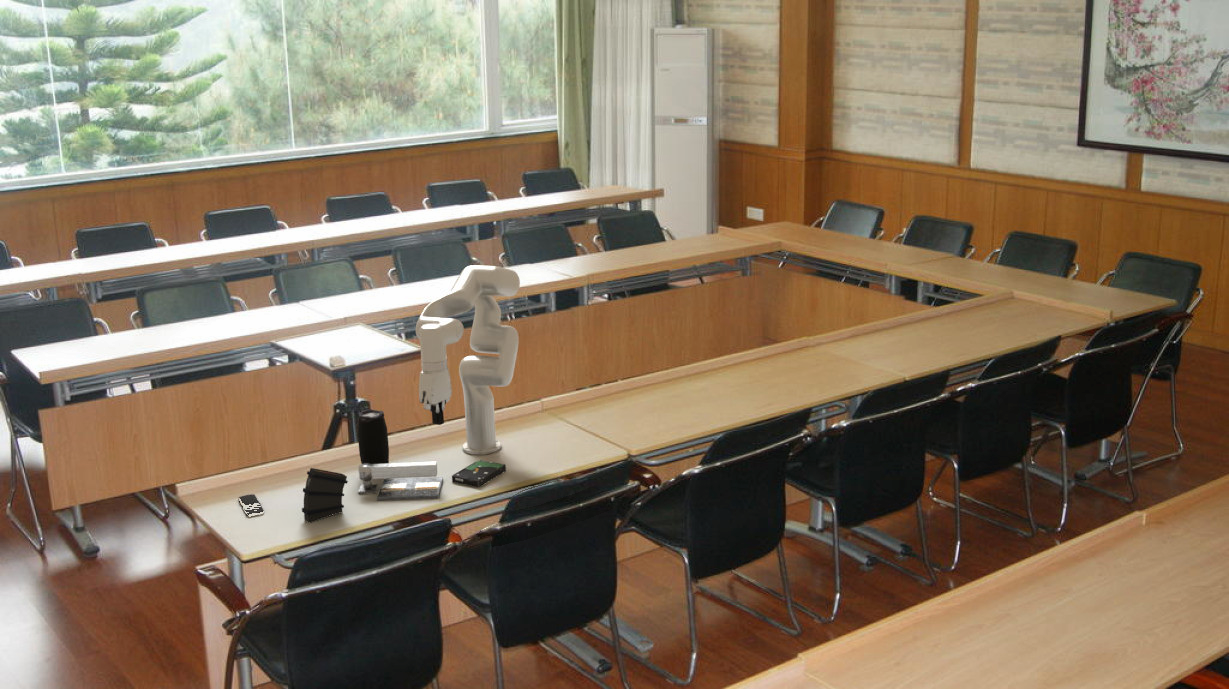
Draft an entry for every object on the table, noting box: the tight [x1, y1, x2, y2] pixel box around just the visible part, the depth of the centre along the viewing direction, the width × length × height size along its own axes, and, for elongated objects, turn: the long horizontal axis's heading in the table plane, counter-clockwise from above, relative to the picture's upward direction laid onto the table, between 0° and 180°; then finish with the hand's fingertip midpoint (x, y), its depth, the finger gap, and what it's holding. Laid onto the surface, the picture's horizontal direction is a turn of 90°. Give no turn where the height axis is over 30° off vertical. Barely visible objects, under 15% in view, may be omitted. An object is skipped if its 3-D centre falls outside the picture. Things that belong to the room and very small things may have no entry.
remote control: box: [238, 493, 265, 515], centre depth 353 cm, size 5×2×15 cm
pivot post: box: [357, 479, 379, 495], centre depth 362 cm, size 5×5×4 cm
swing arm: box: [358, 461, 438, 481], centre depth 361 cm, size 4×23×4 cm, turn 92°
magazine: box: [301, 467, 349, 523], centre depth 344 cm, size 4×13×15 cm, turn 130°
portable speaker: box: [357, 408, 390, 465], centre depth 374 cm, size 9×9×20 cm
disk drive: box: [451, 459, 507, 488], centre depth 371 cm, size 10×3×15 cm
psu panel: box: [376, 476, 444, 501], centre depth 362 cm, size 14×18×1 cm
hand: (438, 423), depth 361 cm, fingers closed
